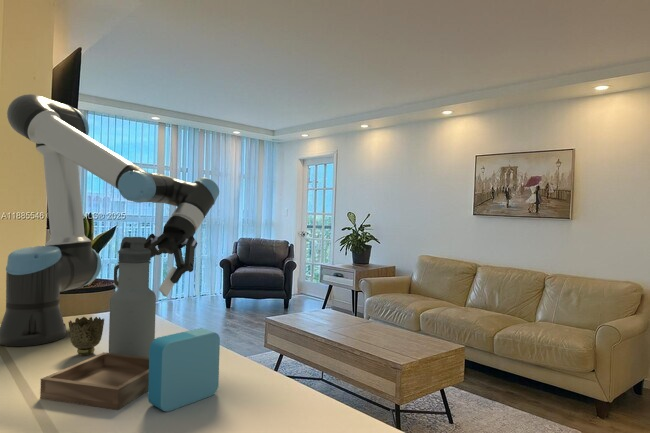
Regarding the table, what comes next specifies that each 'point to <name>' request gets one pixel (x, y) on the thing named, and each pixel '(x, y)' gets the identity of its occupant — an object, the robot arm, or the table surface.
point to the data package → (183, 368)
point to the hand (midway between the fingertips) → (139, 290)
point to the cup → (86, 334)
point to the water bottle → (132, 301)
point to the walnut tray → (99, 381)
